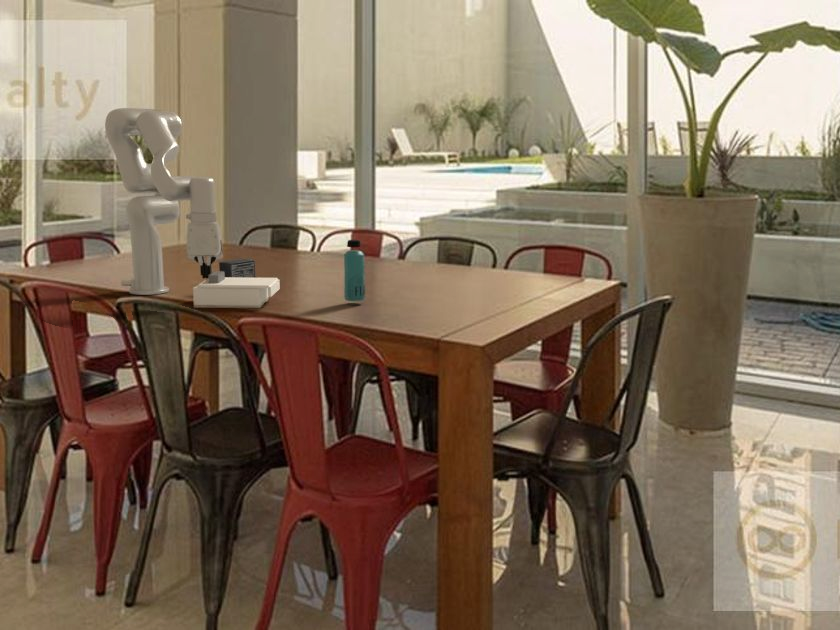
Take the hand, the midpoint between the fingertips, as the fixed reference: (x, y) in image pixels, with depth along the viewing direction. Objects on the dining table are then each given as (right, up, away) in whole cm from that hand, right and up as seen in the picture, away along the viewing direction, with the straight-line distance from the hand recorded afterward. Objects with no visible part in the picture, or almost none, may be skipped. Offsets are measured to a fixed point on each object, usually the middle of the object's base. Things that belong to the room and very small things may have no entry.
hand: (206, 277), depth 274 cm
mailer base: (+8, -8, +2) cm, 11 cm away
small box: (+5, -4, +23) cm, 24 cm away
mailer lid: (+10, -5, +1) cm, 11 cm away
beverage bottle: (+46, -8, +2) cm, 46 cm away
